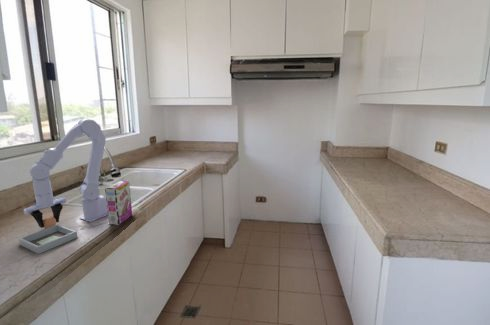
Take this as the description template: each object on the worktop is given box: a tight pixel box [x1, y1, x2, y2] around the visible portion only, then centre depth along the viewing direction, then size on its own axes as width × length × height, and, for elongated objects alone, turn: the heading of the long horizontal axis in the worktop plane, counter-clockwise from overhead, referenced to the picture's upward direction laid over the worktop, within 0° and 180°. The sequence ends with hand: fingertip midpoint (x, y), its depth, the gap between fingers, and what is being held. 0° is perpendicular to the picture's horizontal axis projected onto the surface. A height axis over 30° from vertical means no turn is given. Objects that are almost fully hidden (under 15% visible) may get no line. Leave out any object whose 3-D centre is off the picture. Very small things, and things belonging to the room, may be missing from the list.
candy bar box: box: [104, 180, 133, 226], centre depth 117 cm, size 11×5×16 cm, turn 174°
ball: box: [43, 215, 57, 229], centre depth 111 cm, size 5×5×5 cm
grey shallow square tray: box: [18, 224, 78, 255], centre depth 100 cm, size 13×13×2 cm
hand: (49, 224), depth 111 cm, fingers open, 5 cm apart
